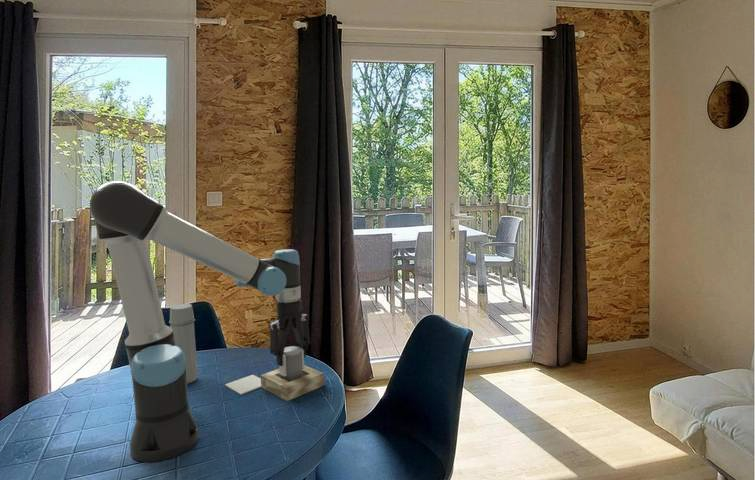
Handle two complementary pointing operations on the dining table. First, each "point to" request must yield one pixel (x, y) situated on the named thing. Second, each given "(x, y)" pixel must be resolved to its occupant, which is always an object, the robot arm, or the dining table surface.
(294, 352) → the grey domed cylinder
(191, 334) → the water bottle
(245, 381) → the pad
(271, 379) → the housing
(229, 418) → the dining table surface
